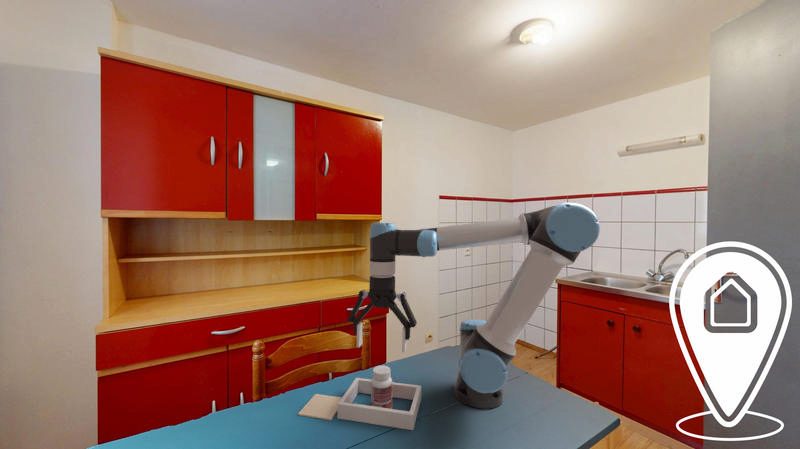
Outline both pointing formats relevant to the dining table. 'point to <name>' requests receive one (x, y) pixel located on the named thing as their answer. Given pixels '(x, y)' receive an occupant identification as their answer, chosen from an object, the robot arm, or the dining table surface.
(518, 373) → the dining table surface
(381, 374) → the pill bottle
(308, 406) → the mat
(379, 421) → the bin
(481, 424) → the dining table surface
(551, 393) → the dining table surface
